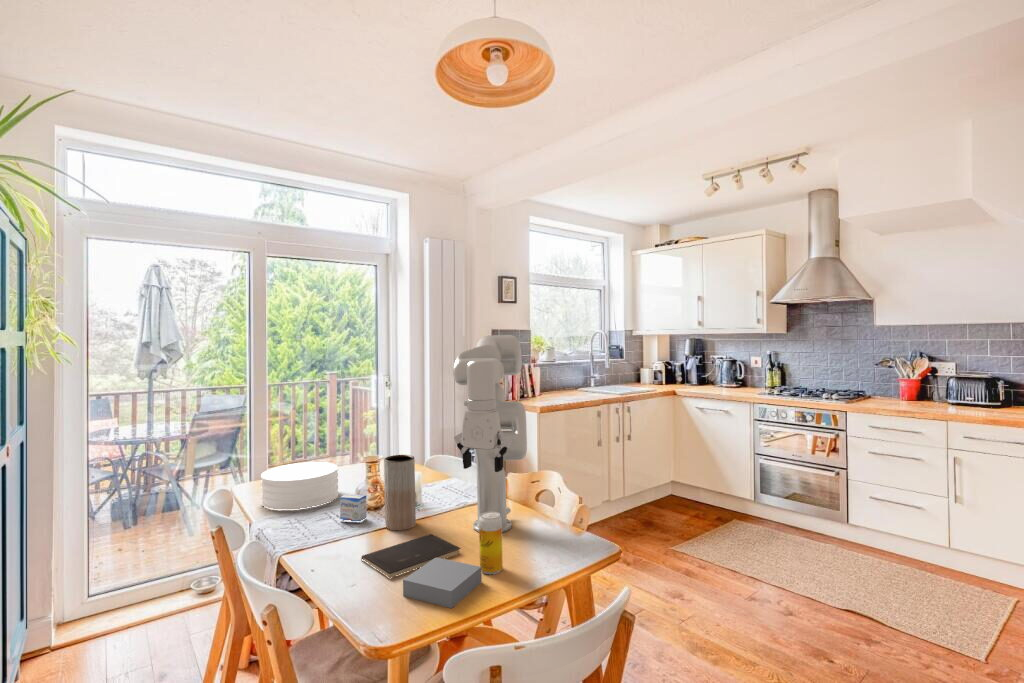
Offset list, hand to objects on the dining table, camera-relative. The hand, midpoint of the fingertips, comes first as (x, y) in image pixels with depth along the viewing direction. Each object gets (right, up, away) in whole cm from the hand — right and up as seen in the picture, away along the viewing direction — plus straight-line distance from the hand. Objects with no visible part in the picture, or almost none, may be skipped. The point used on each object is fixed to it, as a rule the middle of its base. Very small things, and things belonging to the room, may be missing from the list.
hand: (482, 469), depth 141 cm
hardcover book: (-21, -28, +9) cm, 36 cm away
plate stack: (-75, -28, +66) cm, 104 cm away
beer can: (+2, -27, 0) cm, 27 cm away
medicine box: (-47, -28, +40) cm, 68 cm away
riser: (-9, -27, -10) cm, 31 cm away
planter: (-30, -28, +35) cm, 53 cm away
